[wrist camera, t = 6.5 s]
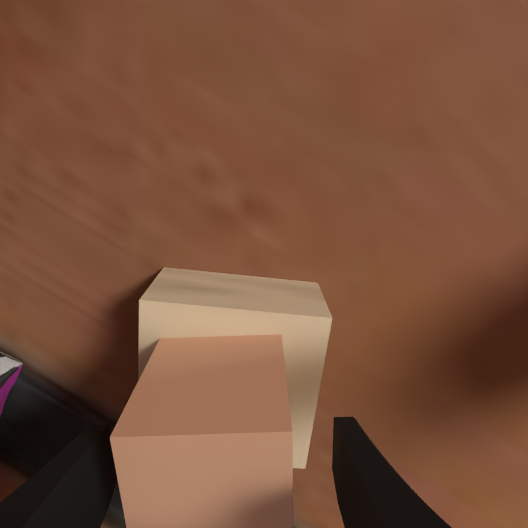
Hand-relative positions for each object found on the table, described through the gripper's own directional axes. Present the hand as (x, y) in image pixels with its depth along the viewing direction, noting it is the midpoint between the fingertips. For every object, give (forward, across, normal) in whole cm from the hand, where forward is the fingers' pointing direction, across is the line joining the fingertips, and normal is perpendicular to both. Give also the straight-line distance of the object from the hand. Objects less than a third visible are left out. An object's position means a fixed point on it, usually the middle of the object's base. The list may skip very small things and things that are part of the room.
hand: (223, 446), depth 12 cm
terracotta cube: (+3, 0, 0) cm, 3 cm away
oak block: (+7, 0, 0) cm, 7 cm away
